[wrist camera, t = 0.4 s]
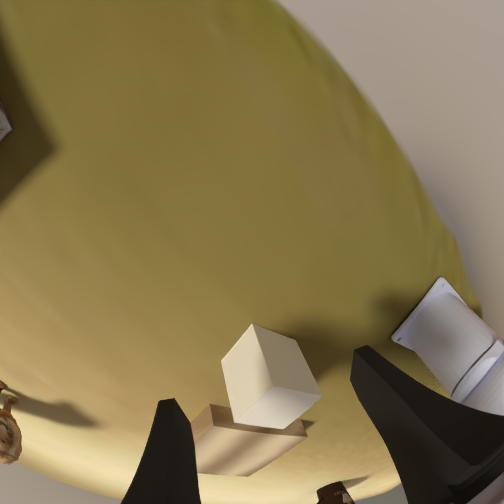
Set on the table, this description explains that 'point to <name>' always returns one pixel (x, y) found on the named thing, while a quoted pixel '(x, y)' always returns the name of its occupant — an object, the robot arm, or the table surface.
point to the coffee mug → (334, 494)
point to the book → (4, 123)
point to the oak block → (239, 443)
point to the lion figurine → (9, 432)
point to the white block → (268, 379)
